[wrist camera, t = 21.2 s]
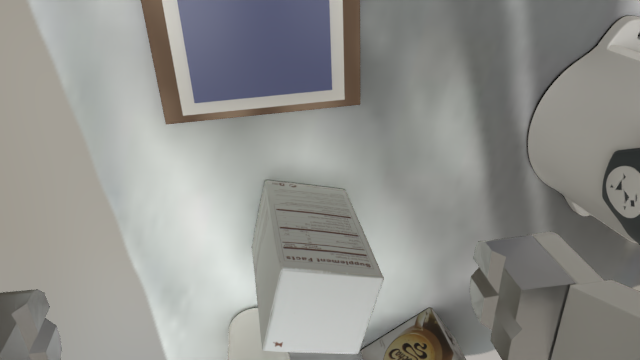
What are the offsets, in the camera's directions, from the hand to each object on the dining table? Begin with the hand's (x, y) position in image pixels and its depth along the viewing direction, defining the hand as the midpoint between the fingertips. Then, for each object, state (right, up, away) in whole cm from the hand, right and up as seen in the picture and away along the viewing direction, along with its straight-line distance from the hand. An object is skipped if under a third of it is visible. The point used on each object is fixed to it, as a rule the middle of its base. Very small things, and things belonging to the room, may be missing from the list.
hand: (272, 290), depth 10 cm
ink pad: (-4, +14, +27) cm, 31 cm away
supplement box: (-1, -1, +36) cm, 37 cm away
